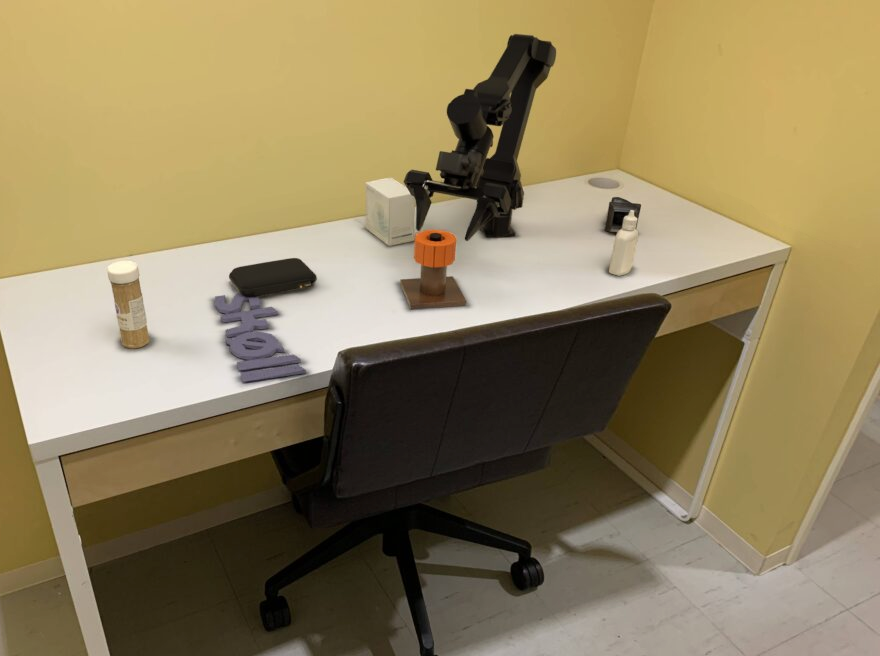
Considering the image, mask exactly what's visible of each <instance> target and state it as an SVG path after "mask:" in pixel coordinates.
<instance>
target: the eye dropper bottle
mask: <svg viewBox="0 0 880 656" xmlns="http://www.w3.org/2000/svg"><path fill="white" fill-rule="evenodd" d="M636 224H637V225H638V223H637V218H636V217H635V216H634V210H630V213H629V215H628V216H625V217H624V220H623V225H622V229H620V230H619V231H618V232H616V235H615V238H614V243H613V246H612V247H613V248H612V253H611V258H610V262H609V268H608V272H609V274H612V275H615V276H617V277H618V276H619V277H620V276H624V275H626V274H628V273H630V272H631V270H632V268H633V264H634V258H635V253H636V248H637V244H638V239H639V230H638V229H637V228H636Z"/></svg>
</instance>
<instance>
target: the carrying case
mask: <svg viewBox="0 0 880 656" xmlns="http://www.w3.org/2000/svg"><path fill="white" fill-rule="evenodd" d="M228 279H229V280H230V282H231V283H232V284H233V286H234V287H235V288H236V289H237V291H238V293H241V294H243V295H244V296H246V297H254V296H257V297H258V298H259V297H264V296H268V295H274V294H280V293H286V292H290V291H295V290H303V289H306V288H310V287H312V286H313V285H314V284H315V283H316V282H317V279H318V277H317V275H316V273H315V272H314V271H313V270H312V269H311V268H310V267H309V266H308V265H307V264H306V263H305V262H304V261H303V260H302V259H300V258H299V257H291V258H290V257H288V258H284V259H277V260H272V261H265V262H259V263H253V264H247V265H242V266H238V267H234V268H233V269H232V270H231V271H230V272H229V275H228Z"/></svg>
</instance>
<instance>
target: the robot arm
mask: <svg viewBox="0 0 880 656" xmlns="http://www.w3.org/2000/svg"><path fill="white" fill-rule="evenodd" d="M556 58H557V48H556V47H555V46H554V45H553V44H552V41H551V40H542V39H539V38H538V37H537V36H534V34H533V35H532V34H522V33H520V34H519V33H514V34H510V36H509V37H508V40H507V43H506V47H505V49H504V51H503V53H502V55H501V56H500V58H499V59H498V62H497V63H496V65H495V66H494V68H493V70H492V71H491V73H490V75H489V77H488V78H487V79H485V80H482V81H480V82H478V83H477V84H475V86H474V87H473V88H472V89H471V88H465V89H464V92H463V93H461V94H459V95H457V96H456V97H454V98H453V99H451V101H450V102H449V103H448V104H447V107H446V116H447V118H448V121H449V123H450V126H451V128H452V131H453V133H454V136H455V137H456V138H457V139H458V141H457V144H456V146H455V149H453V150H451V152H449V151H443V150H440V151H439V153H438V157H437V162H436V166H435V171H437V172H439V171H440V173H439V176H440V178H441V179H443V181H438V180H433V178H432V176H431V174H430V172H428V171H423V170H416V169H410V170H409V171H408V172H406V173H405V177H404V179H403V185H404V186H405V187H407V189H408V191H409V192H410V194H411V195H412V196H414V198H415V229H416V231H417V232H421V229H422V228H423V226H424V225H425V221H426V218H427V216H428V214H429V211H430V208H431V205H432V204H433V201H432V199H431V198H432V197H433V196H434V193H437V194H442V195H448V196H453V197H458V198H464V199H469V200H474V201H476V207H475V210H474V212H473V215H472V217H471V219H470V222H469V224H468V226H467V228H466V232H465V235H464V241H465V242H469V241H470V239H472V237H474V235H475V234H476V233H477V232H478V231H479V230H480V231H481V232H482V234H483V235H484V237H486V238H494V237H495V238H499V237H500V238H501V237H515V236H516V231H515V230H514V229H513V228H512V218H513V211H515V210H517V209H522V208H523V206H524V205H523V203H524V199H525V197H524V196H525V191H524V188H523V184H522V181H521V178H522V172H521V169H520V166H519V163H518V158H519V154H520V150H521V147H522V143H523V140H524V136H525V132H526V128H527V125H528V120H529V117H530V114H531V113H530V112H531V110H532V107H533V102H534V99H535V96H536V95H535V94H536V91H537V89H538V88H539V87H540V86H541V85H542V84H543V83H544V82H545V81H546V80H547V79H548V77H549V74H550V70H551V69H552V68H553V66H554V65H555V62H556ZM490 126H494V127H501V129H500V134H499V138H498V140H497V141H498V142H497V145H496V150H495V151H494V154H493V155H491V156H490V157H488V154H489V151H490V149H491V148H492V147H493V146H494V133H493V130H492V128H490Z"/></svg>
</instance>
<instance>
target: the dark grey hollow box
mask: <svg viewBox="0 0 880 656" xmlns="http://www.w3.org/2000/svg"><path fill="white" fill-rule="evenodd" d="M641 208H642V204H641V203H637V202H636V203H635V202H631V201H629V200H628V199H627V198H623V197H620V196H613V197H611V201H609V203H608V207H607V214H606V221H605V226H604V231H605V232H612V233H618V231H619V230H620V229H622V225H623V220H624V217H625V216H628V215H629V213H630V210H634V216H635V217H636V218H637V224H636V229H637V227H638V224H639V223H638V222H639V217H640V213H641Z"/></svg>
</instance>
